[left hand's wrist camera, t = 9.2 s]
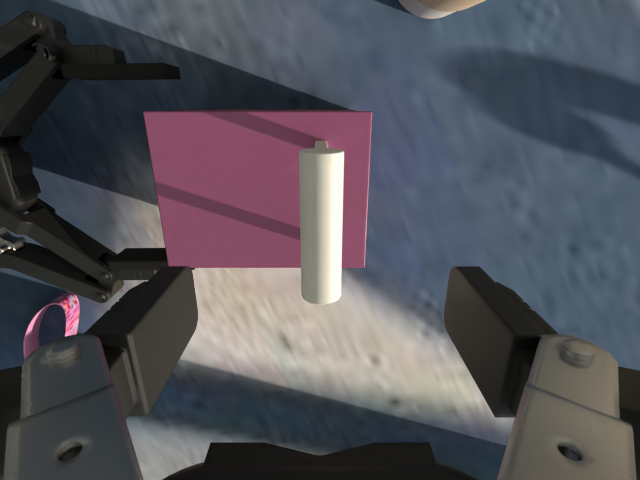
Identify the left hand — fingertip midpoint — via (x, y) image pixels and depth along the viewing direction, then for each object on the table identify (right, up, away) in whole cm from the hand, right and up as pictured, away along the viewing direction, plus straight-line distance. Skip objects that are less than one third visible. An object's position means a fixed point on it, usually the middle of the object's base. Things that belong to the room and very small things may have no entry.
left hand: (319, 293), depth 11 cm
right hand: (-10, +7, +15) cm, 19 cm away
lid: (-4, +5, +13) cm, 14 cm away
